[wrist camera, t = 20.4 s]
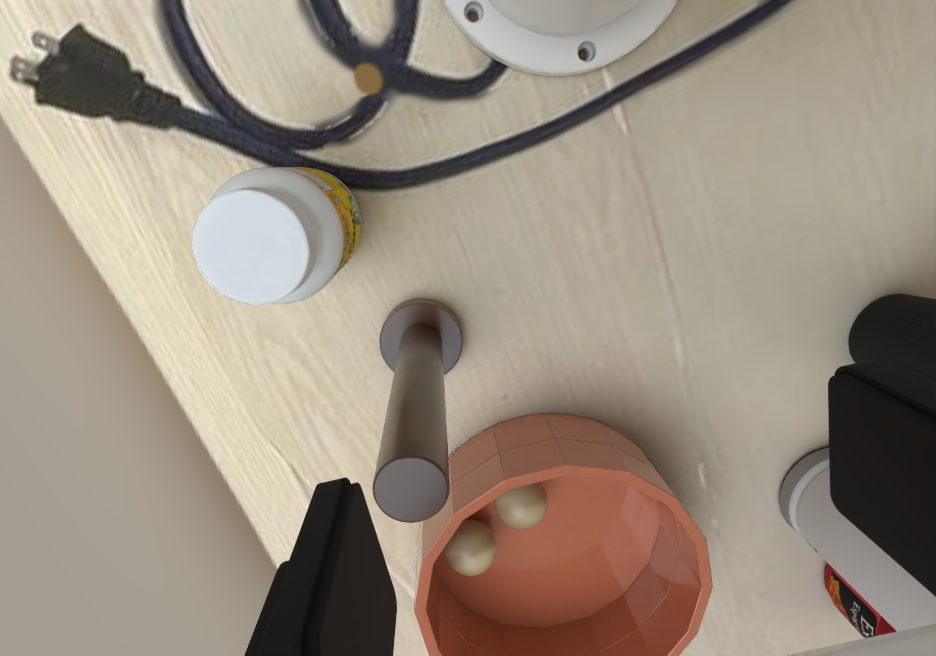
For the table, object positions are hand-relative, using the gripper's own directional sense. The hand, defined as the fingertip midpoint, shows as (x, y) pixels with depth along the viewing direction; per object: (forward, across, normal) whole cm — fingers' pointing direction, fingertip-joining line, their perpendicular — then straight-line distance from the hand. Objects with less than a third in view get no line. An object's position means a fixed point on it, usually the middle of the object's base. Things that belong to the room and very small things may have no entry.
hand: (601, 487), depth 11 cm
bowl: (+19, 0, +16) cm, 25 cm away
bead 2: (+17, +1, +12) cm, 21 cm away
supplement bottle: (+20, +9, -5) cm, 22 cm away
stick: (+20, +5, +2) cm, 20 cm away
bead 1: (+17, +5, +14) cm, 23 cm away
